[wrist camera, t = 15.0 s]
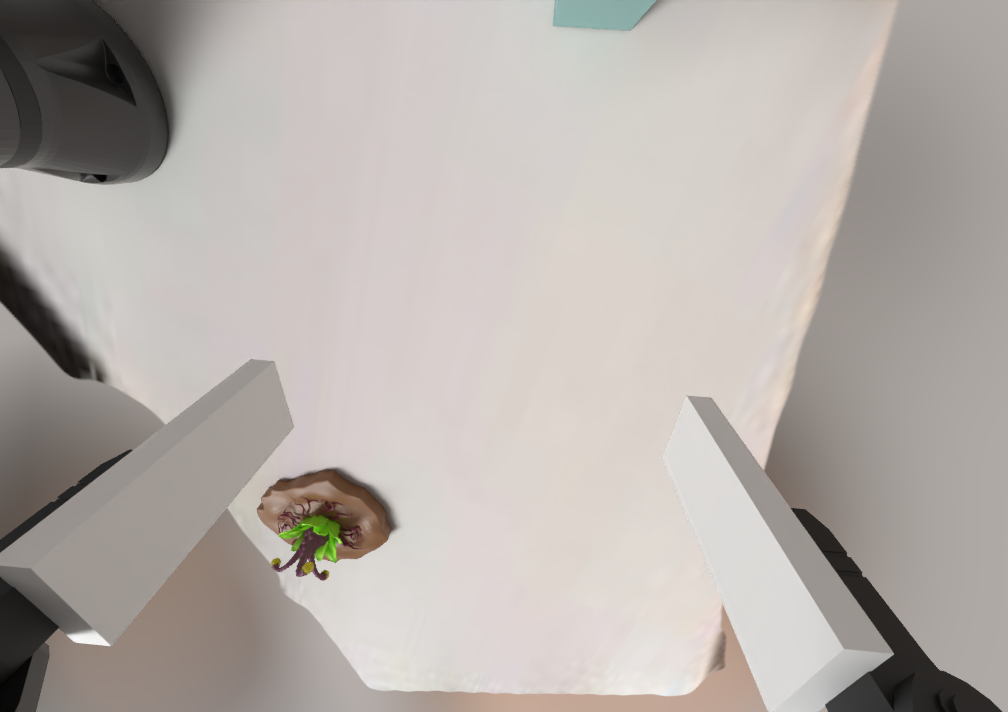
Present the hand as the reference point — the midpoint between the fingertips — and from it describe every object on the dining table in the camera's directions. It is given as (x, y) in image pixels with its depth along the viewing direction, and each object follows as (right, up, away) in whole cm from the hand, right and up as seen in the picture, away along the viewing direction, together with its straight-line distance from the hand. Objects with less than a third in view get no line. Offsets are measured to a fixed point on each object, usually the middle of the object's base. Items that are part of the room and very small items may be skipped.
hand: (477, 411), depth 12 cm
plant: (-28, -24, +50) cm, 62 cm away
